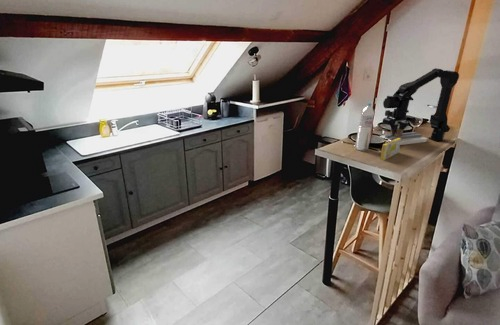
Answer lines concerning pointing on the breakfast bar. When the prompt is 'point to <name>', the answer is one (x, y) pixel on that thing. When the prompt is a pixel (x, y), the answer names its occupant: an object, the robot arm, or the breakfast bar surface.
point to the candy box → (390, 148)
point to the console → (407, 138)
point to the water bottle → (365, 128)
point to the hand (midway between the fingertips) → (396, 134)
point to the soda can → (371, 133)
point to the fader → (398, 132)
